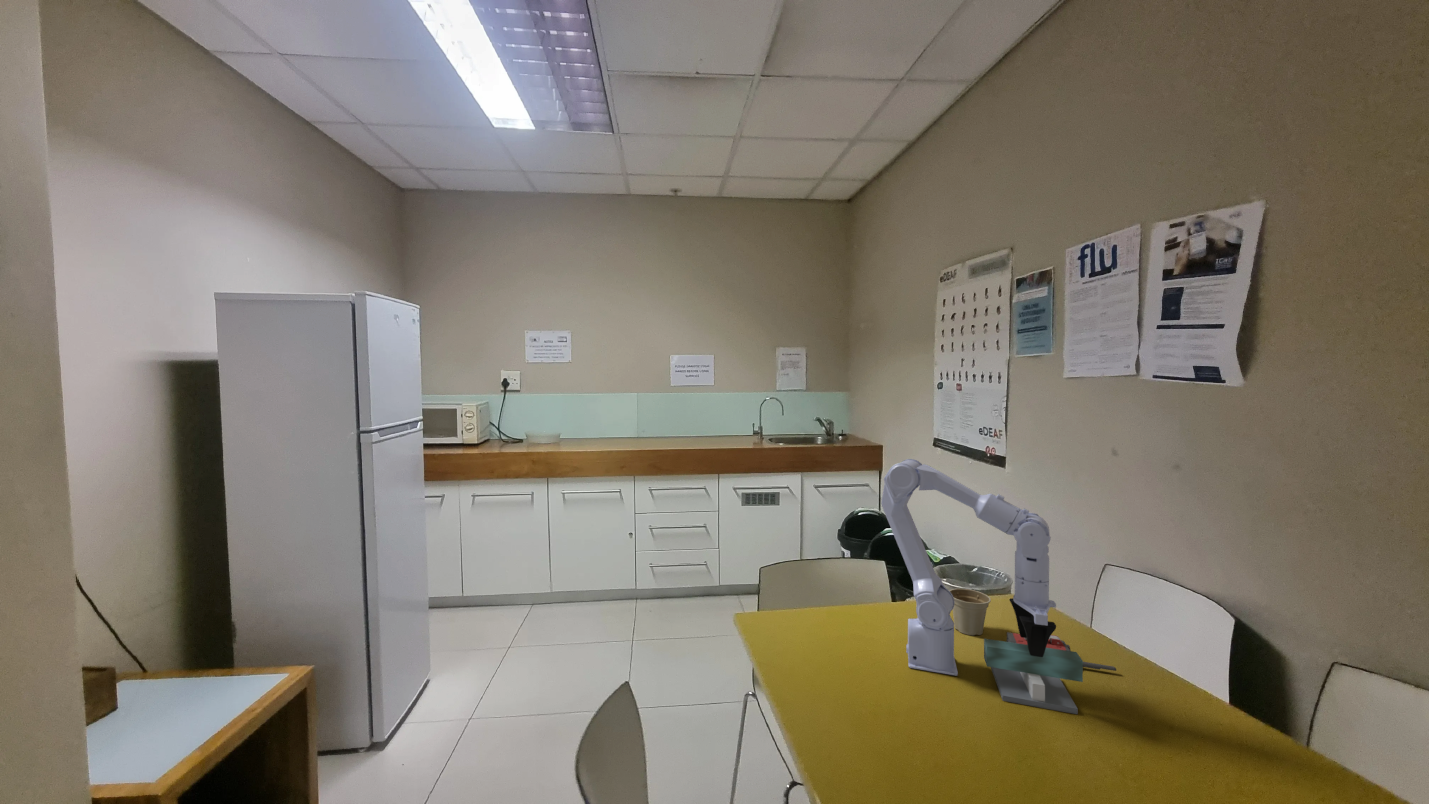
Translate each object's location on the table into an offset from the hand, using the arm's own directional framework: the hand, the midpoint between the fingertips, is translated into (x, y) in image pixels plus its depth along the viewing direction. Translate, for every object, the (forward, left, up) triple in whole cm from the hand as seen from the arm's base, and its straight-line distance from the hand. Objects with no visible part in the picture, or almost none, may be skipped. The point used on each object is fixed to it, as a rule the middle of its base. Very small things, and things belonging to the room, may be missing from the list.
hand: (1031, 646), depth 98 cm
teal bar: (0, 0, -5) cm, 5 cm away
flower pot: (-8, +24, -9) cm, 27 cm away
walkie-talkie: (+8, +16, -9) cm, 20 cm away
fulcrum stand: (0, 0, -9) cm, 9 cm away
